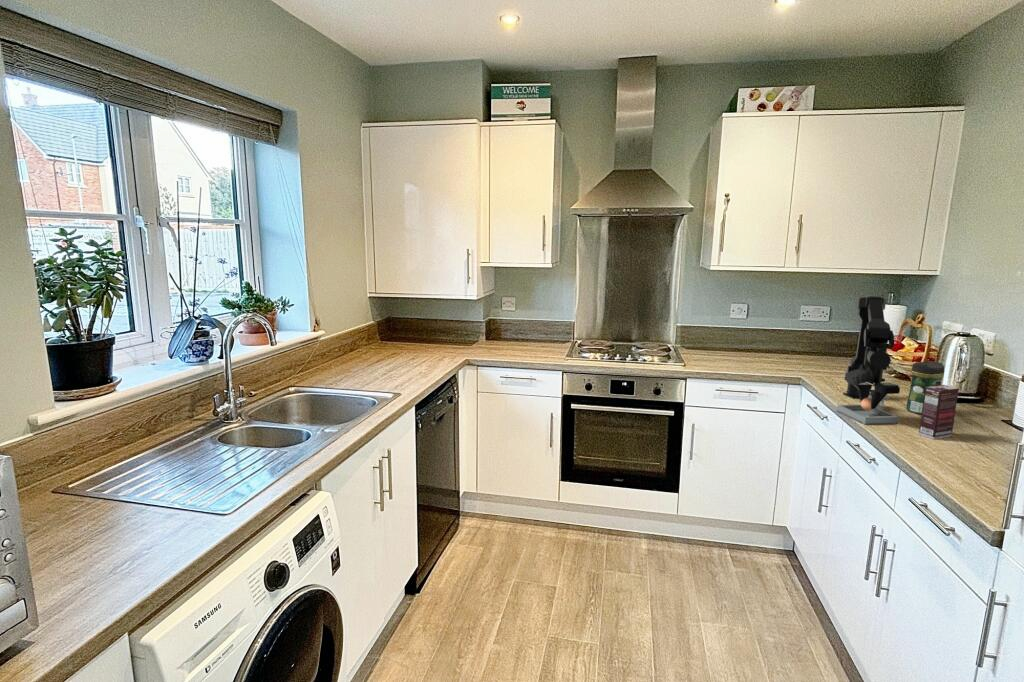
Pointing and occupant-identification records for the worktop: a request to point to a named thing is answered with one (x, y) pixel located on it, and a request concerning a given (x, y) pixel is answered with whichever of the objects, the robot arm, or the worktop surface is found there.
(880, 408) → the hollow square frame
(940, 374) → the coffee jar
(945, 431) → the supplement box
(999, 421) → the worktop surface
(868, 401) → the ball
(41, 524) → the worktop surface
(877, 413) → the tray
